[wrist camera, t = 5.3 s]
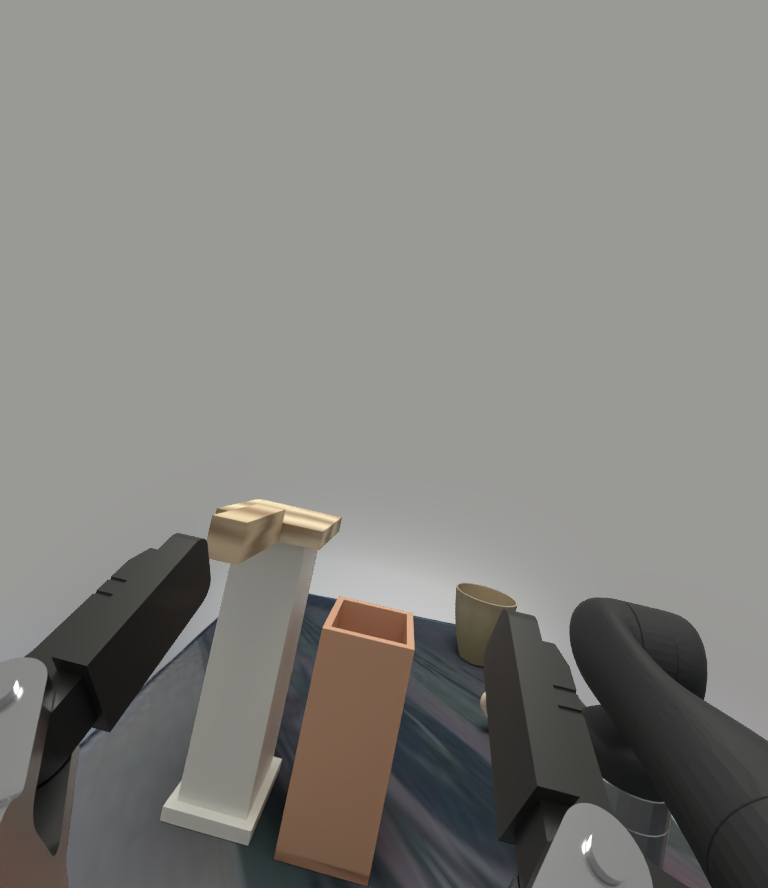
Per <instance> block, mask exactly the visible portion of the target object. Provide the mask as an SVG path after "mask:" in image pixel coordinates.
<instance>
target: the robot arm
mask: <svg viewBox="0 0 768 888" xmlns="http://www.w3.org/2000/svg"><path fill="white" fill-rule="evenodd" d="M210 580H211V577H210V565H209V553H208V543H207V541H206V540H205V539H202V538H198V537H194V536H189V535H185V534H180V533H176V534H174V535H172V536H171V537H170V538H169V539H168V540H167V541H166V542H165V543H164V544H163V545H162V546H161V547H160V548H159V549H158V550H156V549H152V548H150V549H148V550H146V551H144V552H143V553H141V554H139V555H137V556H135V557H134V558H132V559H130V560H128V561H127V562H126V563H125V564H124V565H123V566H122V567H121V568H120V569H119V570H118V571H117V572H116V573H114V574H113V575H112V576H111V579H110V580H107V581H106V582H105V583H104V584H103V585H102V586H101V587H100V588H99V589H98V590H97V592H96V593H95V594H92V595H91V596H90V597H89V598H88V599H87V600H86V601H85V602H84V603H83V604H82V605H81V606H80V607H79V608H78V609H76V610H75V611H74V612H73V613H72V614H71V615H70V616H69V617H68V618H67V619H66V620H65V621H64V622H63V623H62V624H60V625H59V626H58V627H57V628H56V629H55V630H54V631H53V632H52V633H51V634H50V635H49V636H48V637H47V638H46V639H45V640H44V641H43V642H41V643H40V644H39V645H38V646H37V647H36V648H35V649H34V650H33V651H32V652H30V653H29V654H28V655H26V656H25V657H23V658H15V659H11V660H7V661H4V662H1V663H0V888H68V878H67V870H66V855H67V845H68V837H69V829H70V821H71V812H72V804H73V796H74V788H75V780H76V772H77V764H78V755H79V743H80V742H81V741H82V739H83V738H84V737H85V735H86V734H87V732H88V731H89V730H90V729H91V727H92V728H96V729H99V730H103V731H107V732H110V731H111V730H112V729H113V727H114V726H115V724H116V723H117V722H118V720H119V719H120V717H121V716H122V715H123V713H124V712H125V710H126V709H127V708H128V706H129V705H130V703H131V702H132V701H133V699H134V698H135V696H136V695H137V694H138V692H139V691H140V689H141V688H142V687H143V685H144V684H145V682H146V681H147V680H148V678H149V677H150V675H151V674H152V673H153V671H154V670H155V668H156V667H157V666H158V664H159V663H160V661H161V660H162V659H163V657H164V655H165V654H166V653H167V652H168V650H169V649H170V647H171V646H172V645H173V643H174V642H175V640H176V639H177V638H178V636H179V635H180V633H181V632H182V630H183V629H184V628H185V626H186V625H187V624H188V622H189V621H190V619H191V618H192V617H193V615H194V614H195V612H196V611H197V610H198V608H199V607H200V605H201V604H202V603H203V601H204V599H205V597H206V595H207V593H208V590H209V587H210ZM570 643H571V647H572V652H573V655H574V658H575V661H576V664H577V666H578V668H579V670H580V673H581V675H582V676H583V678H584V680H585V682H586V683H587V685H588V686H589V688H590V689H591V691H592V692H593V694H594V695H595V697H596V698H597V700H598V701H599V702H600V704H601V705H595V706H589V707H585V708H583V709H582V708H581V704H580V701H579V698H578V695H576V688H575V684H574V681H573V677H572V674H571V671H570V667H569V665H568V664H567V662H566V661H565V659H564V658H563V656H562V654H561V653H560V651H559V650H558V648H557V647H556V645H555V644H553V643H549V642H544V641H542V638H541V634H540V630H539V626H538V622H537V620H536V618H535V617H534V616H532V615H528V614H524V613H519V612H515V611H511V610H506V609H503V610H502V612H501V614H500V616H499V618H498V621H497V623H496V625H495V628H494V630H493V632H492V635H491V637H490V639H489V642H488V644H487V647H486V651H485V656H484V680H485V692H486V703H487V715H488V727H489V739H490V750H491V762H492V774H493V786H494V797H495V809H496V821H497V833H498V841H502V842H506V843H509V844H513V845H516V853H517V862H518V870H517V871H516V873H515V875H514V877H513V879H512V881H511V883H510V885H509V887H508V888H689V887H687V886H686V885H684V884H683V883H681V882H680V881H678V880H677V879H675V878H674V877H672V876H671V875H669V874H668V873H666V872H665V871H663V866H664V859H665V853H666V847H667V841H668V835H669V829H670V821H671V815H672V816H673V818H674V819H675V821H676V823H677V824H678V826H679V828H680V830H681V831H682V833H683V835H684V836H685V838H686V840H687V842H688V844H689V845H690V847H691V849H692V851H693V853H694V854H695V856H696V858H697V860H698V862H699V864H700V866H701V868H702V870H703V872H704V874H705V875H706V877H707V879H708V881H709V883H710V885H711V887H712V888H768V741H767V740H765V739H764V738H762V737H761V736H759V735H758V734H756V733H755V732H753V731H752V730H750V729H749V728H747V727H745V726H744V725H742V724H741V723H739V722H738V721H736V720H734V719H733V718H731V717H730V716H728V715H726V714H725V713H723V712H721V711H720V710H718V709H717V708H715V707H713V706H712V705H710V704H709V703H707V702H706V701H704V697H705V692H706V683H707V659H706V654H705V650H704V646H703V643H702V640H701V638H700V636H699V634H698V632H697V631H696V629H695V628H694V627H693V626H692V625H691V624H690V623H689V622H688V621H687V620H685V619H684V618H682V617H681V616H679V615H676V614H673V613H670V612H666V611H663V610H659V609H654V608H650V607H646V606H642V605H638V604H633V603H629V602H625V601H621V600H617V599H612V598H590V599H587V600H585V601H583V602H581V603H580V604H579V605H578V606H577V607H576V609H575V610H574V612H573V614H572V617H571V621H570Z"/></svg>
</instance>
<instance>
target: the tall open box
mask: <svg viewBox="0 0 768 888" xmlns="http://www.w3.org/2000/svg"><path fill="white" fill-rule="evenodd" d="M414 650H415V649H414V628H413V613H409V612H405V611H401V610H396V609H392V608H387V607H384V606H379V605H375V604H370V603H366V602H362V601H358V600H354V599H349V598H345V597H341V596H339V597H338V599H337V601H336V603H335V605H334V607H333V609H332V610H331V612H330V614H329V616H328V618H327V620H326V622H325V624H324V626H323V628H322V632H321V637H320V642H319V647H318V651H317V656H316V661H315V666H314V670H313V675H312V680H311V685H310V689H309V694H308V699H307V704H306V708H305V713H304V718H303V723H302V727H301V732H300V737H299V742H298V746H297V751H296V756H295V761H294V765H293V770H292V775H291V780H290V784H289V789H288V794H287V798H286V803H285V808H284V813H283V817H282V822H281V827H280V832H279V836H278V841H277V846H276V851H275V855H274V860H277V861H281V862H284V863H288V864H291V865H295V866H298V867H302V868H305V869H308V870H312V871H315V872H319V873H322V874H326V875H329V876H333V877H336V878H340V879H343V880H347V881H350V882H354V883H357V884H361V885H364V886H368V882H369V877H370V872H371V867H372V862H373V857H374V852H375V847H376V842H377V837H378V831H379V826H380V821H381V816H382V811H383V806H384V801H385V796H386V791H387V786H388V781H389V776H390V771H391V766H392V761H393V756H394V751H395V746H396V741H397V736H398V731H399V726H400V721H401V716H402V711H403V706H404V701H405V696H406V691H407V686H408V680H409V675H410V670H411V665H412V660H413V655H414Z"/></svg>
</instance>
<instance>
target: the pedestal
mask: <svg viewBox="0 0 768 888" xmlns="http://www.w3.org/2000/svg"><path fill="white" fill-rule="evenodd" d="M316 555H317V550H315V549H311V548H307V547H302V546H298V545H293V544H289V543H285V542H280V541H278V542H277V543H275V544H273V545H271V546H270V547H268V548H266V549H265V550H263V551H261V552H259V553H258V554H256V555H254V556H253V557H251V558H249V559H247V560H246V561H244V562H242V563H241V564H239V565H235V564H230V567H229V572H228V577H227V581H226V585H225V590H224V594H223V599H222V603H221V607H220V612H219V616H218V621H217V625H216V630H215V634H214V639H213V643H212V647H211V652H210V656H209V661H208V665H207V670H206V674H205V679H204V683H203V688H202V692H201V697H200V701H199V705H198V710H197V714H196V719H195V723H194V728H193V732H192V737H191V741H190V746H189V750H188V755H187V759H186V763H185V768H184V772H183V777H182V780H181V782H180V783H179V785H178V786H177V787H176V789H175V790H174V792H173V793H172V794H171V796H170V797H169V798H168V800H167V801H166V803H165V804H164V805H163V808H162V812H161V817H160V821H163V822H166V823H170V824H173V825H177V826H180V827H184V828H187V829H191V830H194V831H198V832H201V833H205V834H208V835H212V836H215V837H219V838H222V839H226V840H229V841H232V842H236V843H239V844H243V845H246V846H248V845H249V843H250V840H251V838H252V836H253V833H254V831H255V828H256V826H257V824H258V821H259V819H260V816H261V814H262V812H263V809H264V807H265V804H266V802H267V800H268V797H269V795H270V792H271V790H272V788H273V785H274V783H275V780H276V778H277V775H278V773H279V771H280V766H281V762H282V759H281V758H277V757H274V752H275V747H276V743H277V738H278V733H279V728H280V724H281V719H282V714H283V710H284V705H285V700H286V696H287V691H288V686H289V682H290V677H291V672H292V668H293V663H294V658H295V654H296V649H297V644H298V639H299V635H300V630H301V625H302V621H303V616H304V611H305V607H306V602H307V597H308V593H309V588H310V583H311V578H312V574H313V569H314V564H315V560H316Z"/></svg>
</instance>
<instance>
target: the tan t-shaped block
mask: <svg viewBox="0 0 768 888" xmlns="http://www.w3.org/2000/svg"><path fill="white" fill-rule="evenodd" d="M341 519H342V517H339V516H334V515H330V514H326V513H321V512H317V511H312V510H307V509H303V508H298V507H294V506H289V505H284V504H280V503H276V502H271V501H266V500H261V499H257V500H252V501H248V502H243V503H239V504H234V505H229V506H225V507H220V508H217V511H216V514H214V515H212V519H211V524H210V528H209V532H208V537H207V543H208V553H209V559H214V560H217V561H222V562H227V563H230V564H235V565H239V564H241V563H242V562H244V561H246V560H247V559H249V558H251V557H253V556H254V555H256V554H258V553H259V552H261V551H263V550H265V549H266V548H268V547H270V546H271V545H273V544H275V543H277V542H278V541H280V542H285V543H289V544H293V545H298V546H302V547H307V548H311V549H315V550H320V549H321V548H322V547H323V546H324V545H325V544H326V543H327V542H328V541H329V540H330V539H331V538H332V537H333V536H335V535H336V534H337V533H338V532H339V528H340V524H341Z"/></svg>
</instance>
